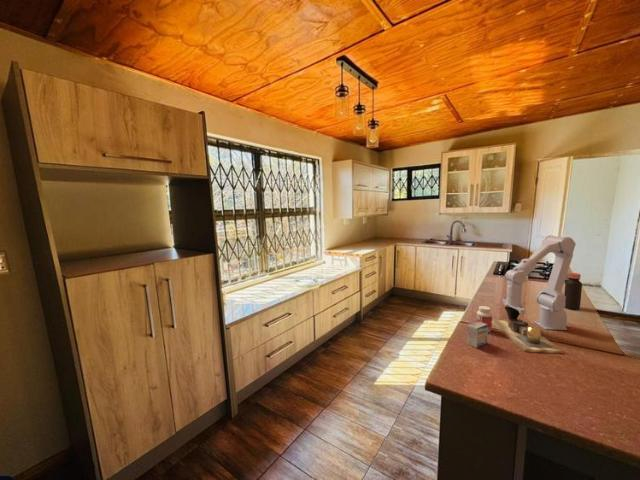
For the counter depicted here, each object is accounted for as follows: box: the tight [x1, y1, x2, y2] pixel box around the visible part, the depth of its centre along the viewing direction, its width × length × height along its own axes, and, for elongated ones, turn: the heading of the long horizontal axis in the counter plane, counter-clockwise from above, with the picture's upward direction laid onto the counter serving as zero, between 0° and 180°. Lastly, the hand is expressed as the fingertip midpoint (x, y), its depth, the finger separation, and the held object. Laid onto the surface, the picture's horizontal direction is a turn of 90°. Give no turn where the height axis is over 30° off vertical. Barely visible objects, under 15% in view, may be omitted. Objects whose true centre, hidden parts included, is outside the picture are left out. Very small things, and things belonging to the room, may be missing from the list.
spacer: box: [527, 325, 542, 344], centre depth 110 cm, size 4×4×6 cm
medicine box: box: [466, 321, 489, 349], centre depth 112 cm, size 8×4×9 cm, turn 117°
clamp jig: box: [492, 319, 564, 354], centre depth 118 cm, size 14×28×5 cm, turn 172°
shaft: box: [508, 318, 527, 335], centre depth 119 cm, size 5×9×4 cm, turn 172°
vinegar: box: [563, 272, 583, 311], centre depth 146 cm, size 7×7×20 cm
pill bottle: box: [476, 305, 493, 333], centre depth 124 cm, size 6×6×11 cm
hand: (512, 322), depth 125 cm, fingers closed
